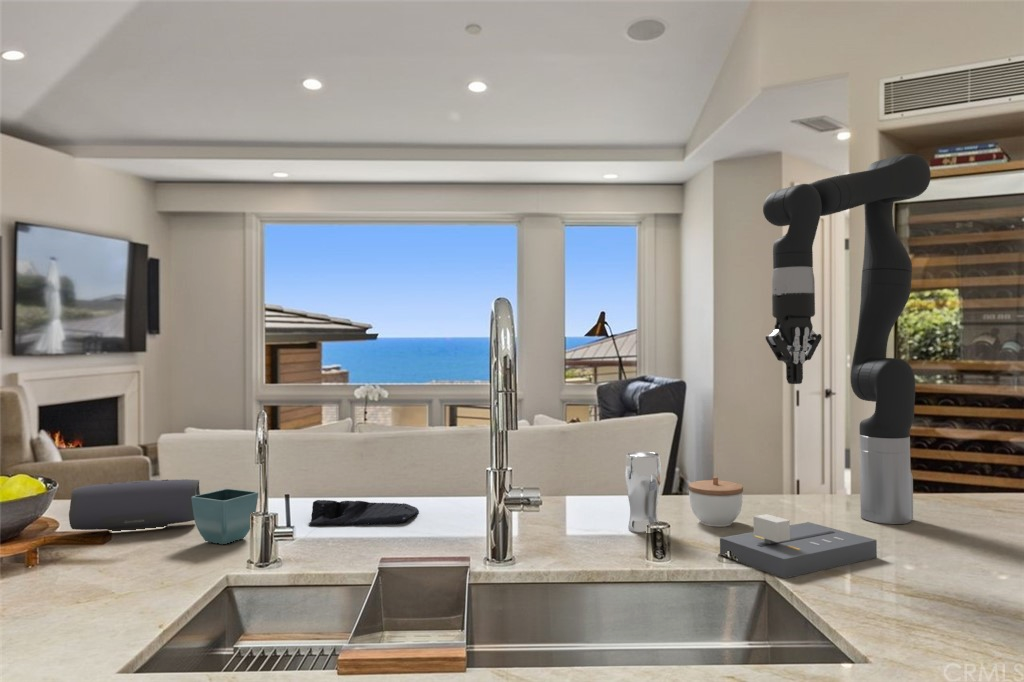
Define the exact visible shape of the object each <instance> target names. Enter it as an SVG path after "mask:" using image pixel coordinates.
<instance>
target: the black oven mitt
mask: <svg viewBox="0 0 1024 682" xmlns="http://www.w3.org/2000/svg"><path fill="white" fill-rule="evenodd" d="M419 512H420V511H419V509H418V507H416V506H413V505H410V504H409V503H408V504H407V503H404V502H403V503H397V502H369V501H365V500H364V501H363V500H355V501H354V500H342V501H341V500H340V501H336V500H331V499H330V500H329V499H317V500H314V501H313V502H312V511H311V519H310V522H308V525H309V526H312V527H319V526H328V527H329V526H330V527H331V526H332V527H333V526H336V527H339V526H354V525H360V526H361V525H362V526H366V525H367V526H368V525H370V526H372V525H393V524H401V523H402V522H403V523H404V522H405V521H407V520H408V519H410V518H412V517H413V516H416V515H417V514H419Z"/></svg>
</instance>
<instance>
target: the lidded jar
mask: <svg viewBox="0 0 1024 682" xmlns="http://www.w3.org/2000/svg"><path fill="white" fill-rule="evenodd" d="M688 490H689V491H688V496H689V497H688V498H689V503H690V507H691V510H692V512H693V514H694V516H695V517H696V518H697V519H698V520H699V522H700V524H702V525H705V526H708V527H715V528H716V527H718V528H720V527H721V528H723V527H729V526H731V525H732V523H733V522H734V521H735V520H736V519H738V517H739V515H740V513H741V511H742V506H743V499H744V498H743V492H744V487H743V485H742V484H740V483H738V482H734V481H727V480H719V477H718V476H713V477H712V479H709V480H705V479H704V480H696V481H692V482H690V483H688Z"/></svg>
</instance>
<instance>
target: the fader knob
mask: <svg viewBox="0 0 1024 682" xmlns="http://www.w3.org/2000/svg"><path fill="white" fill-rule="evenodd" d="M790 525H791V523H790V520H789V519H786V518H783V517H778V516H775V515H771V514H767V513H765V514H759V515H753V532H754V535H755V536H759V537H762V538H764V539H765V542H766V543H769V544H771V543H777V542H780V541H785V540H790Z"/></svg>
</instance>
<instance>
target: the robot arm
mask: <svg viewBox="0 0 1024 682" xmlns="http://www.w3.org/2000/svg"><path fill="white" fill-rule="evenodd" d="M931 176H932V175H931V168H930V166H929V163H928V161H926V159H925V158H924V157H923V156H921V155H918V154H915V153H904V154H900V155H896V156H893V157H887V158H883V159H879V160H876V161H873V162H872V163H871V164H870V165H869V166H868V167H867V168H866V170H864V171H863V170H862V171H858V172H852V173H845V174H839V175H835V176H831V177H827V178H822V179H819V180H815V181H814V182H810V183H801V184H797V185H792V186H789V187H788V186H787V187H785V188H780V189H777V190H774V191H772V192H771V193H769V195H768V196H767V197H766V198H765V200H764V202H763V205H762V213H763V216H764V218H765V219H766V220H767V222H768V223H770V224H771V225H772V226H776V227H786V226H788V229H787V232H786V234H785V235H783V236H781V237H779V238H777V239H775V241H774V242H773V246H772V268H773V270H772V279H771V295H772V297H771V300H772V301H771V302H772V304H771V305H772V309H771V310H772V317H773V318H775V324H774V330H773V332H772V333H771V334H766V335H765V341H766V343H767V344H768V345H769V348H770V350H771V351H772V352H773V355H774V357H776V359H777V361H779V362H783V363H784V364H785V368H786V369H785V372H786V382H787V383H788V384H789V385H800V384H801V385H802V383H803V378H804V375H803V374H804V370H803V369H804V364H805V362H806V361H810V360H812V358H813V355H814V354H815V351H816V350H817V347H818V346H819V344H820V342H821V340H822V337H823V336H822V334H821V333H816V332H815V331H814V330H813V323H812V318H813V317H815V314H816V306H815V305H816V300H815V298H816V293H815V291H816V290H815V287H816V286H815V276H814V275H815V274H814V264H813V263H814V261H813V257H814V256H813V255H814V254H813V253H814V252H813V247H814V241H815V239H816V234H817V230H818V227H819V222H820V219H821V217H824V216H825V217H826V216H830V215H833V214H837V213H841V212H843V211H847V210H851V209H853V208H857V207H860V206H863V205H864V207H863V208H864V248H863V262H862V272H861V282H860V283H861V284H860V285H861V286H860V305H859V317H858V325H857V335H856V340H855V347H854V350H853V356H852V361H851V367H850V386H851V389H852V392H853V393H854V396H856V397H857V398H858V399H860V400H861V401H865V402H866V401H867V402H873V403H875V407H874V412H873V414H872V415H871V416H870V417H868V418H865V419H862V420H861V421H860V422H859V483H860V484H859V485H860V486H859V487H860V488H859V491H860V492H859V493H860V498H859V499H860V501H859V502H860V517H861V518H862V519H863V520H866V521H870V522H872V523H877V524H878V523H879V524H887V525H902V524H903V525H904V524H909V523H911V522H912V520H914V478H913V473H912V471H911V429H912V425H913V423H914V420H915V405H916V404H915V403H916V401H915V400H916V378H915V373H914V371H913V370H914V369H913V368H912V366H911V365H910V364H909V362H907V361H906V360H904V359H902V358H897V357H887V350H888V349H887V348H888V340H889V338H890V334H891V331H892V329H893V327H894V326H895V324H896V322H897V321H898V319H899V318H900V316H901V314H902V313H903V311H904V309H905V307H906V306H907V303H908V302H909V299H910V296H911V295H910V294H911V290H912V289H911V287H912V277H913V276H912V275H913V274H912V273H913V262H912V259H911V257H910V255H909V253H908V251H907V249H906V248H905V246H904V244H903V242H902V241H901V240H900V238H899V236H898V234H897V232H896V229H895V227H894V222H893V221H894V220H893V210H894V203H895V202H896V203H897V202H900V201H907V200H911V199H914V198H917V197H919V196H921V195H922V194H923V193H924V192H925V191H926V190H927V189H928V187H929V185H930V184H931V183H930V182H931V178H932V177H931Z"/></svg>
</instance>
